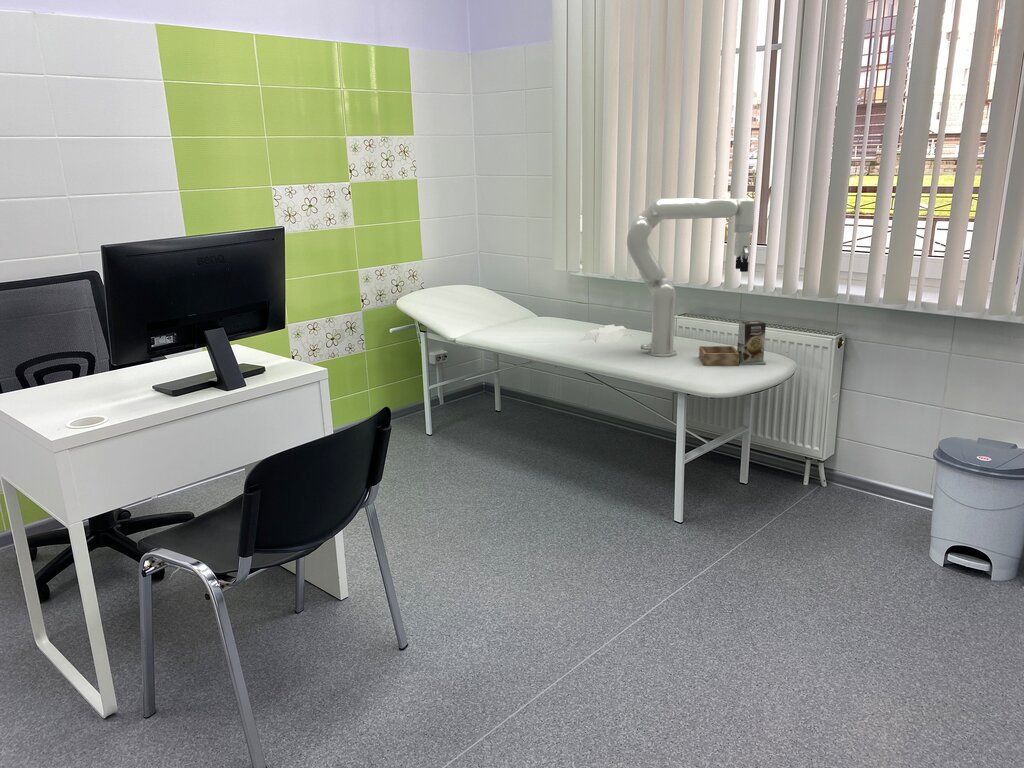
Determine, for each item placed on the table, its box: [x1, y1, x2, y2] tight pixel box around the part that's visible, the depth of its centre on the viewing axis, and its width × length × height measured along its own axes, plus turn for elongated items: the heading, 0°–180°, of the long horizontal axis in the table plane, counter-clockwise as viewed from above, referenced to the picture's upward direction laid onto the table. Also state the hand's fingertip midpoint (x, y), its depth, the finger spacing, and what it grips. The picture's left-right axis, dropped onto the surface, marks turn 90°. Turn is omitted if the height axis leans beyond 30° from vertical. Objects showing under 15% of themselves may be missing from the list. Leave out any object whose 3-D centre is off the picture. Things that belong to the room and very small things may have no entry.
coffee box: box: [736, 320, 767, 363], centre depth 311 cm, size 9×6×16 cm
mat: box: [739, 360, 767, 366], centre depth 314 cm, size 10×10×1 cm
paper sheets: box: [580, 323, 633, 343], centre depth 363 cm, size 35×20×6 cm, turn 140°
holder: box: [698, 345, 740, 367], centre depth 315 cm, size 14×14×5 cm
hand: (741, 270), depth 317 cm, fingers open, 9 cm apart
